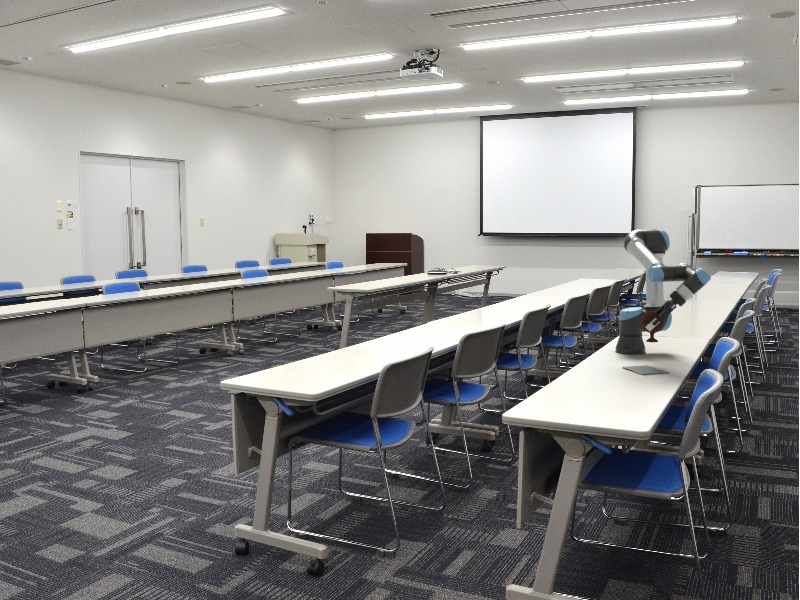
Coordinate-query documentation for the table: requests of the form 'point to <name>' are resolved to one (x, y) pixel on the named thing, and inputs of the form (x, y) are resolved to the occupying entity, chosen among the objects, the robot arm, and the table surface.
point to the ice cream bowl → (648, 319)
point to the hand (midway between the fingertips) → (645, 327)
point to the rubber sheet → (645, 369)
